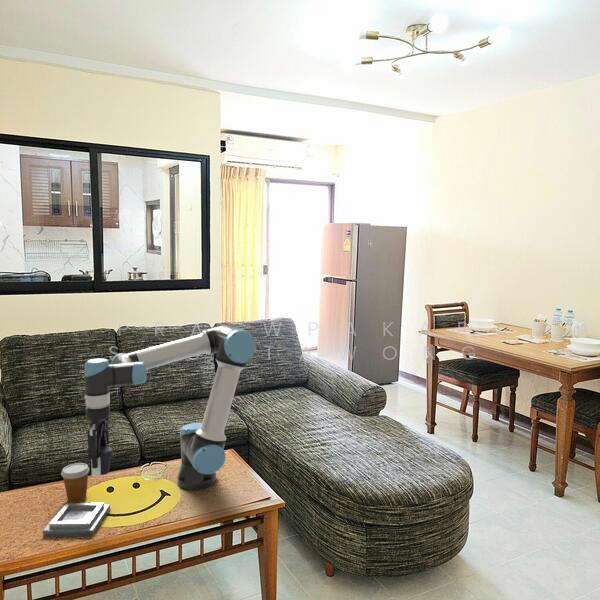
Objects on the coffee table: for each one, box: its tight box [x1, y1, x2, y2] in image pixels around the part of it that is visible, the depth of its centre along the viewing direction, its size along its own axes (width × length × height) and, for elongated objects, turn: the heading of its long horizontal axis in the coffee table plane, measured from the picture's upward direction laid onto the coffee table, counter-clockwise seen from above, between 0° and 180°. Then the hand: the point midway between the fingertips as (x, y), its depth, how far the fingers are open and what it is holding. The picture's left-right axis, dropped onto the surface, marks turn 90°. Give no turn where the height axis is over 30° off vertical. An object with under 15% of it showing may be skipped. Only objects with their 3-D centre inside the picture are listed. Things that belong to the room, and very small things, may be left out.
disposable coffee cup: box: [60, 462, 90, 503], centre depth 189 cm, size 10×10×12 cm
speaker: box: [88, 446, 113, 476], centre depth 173 cm, size 8×6×10 cm
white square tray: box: [42, 502, 111, 537], centre depth 174 cm, size 16×16×4 cm
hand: (99, 471), depth 173 cm, fingers closed on speaker, 6 cm apart
